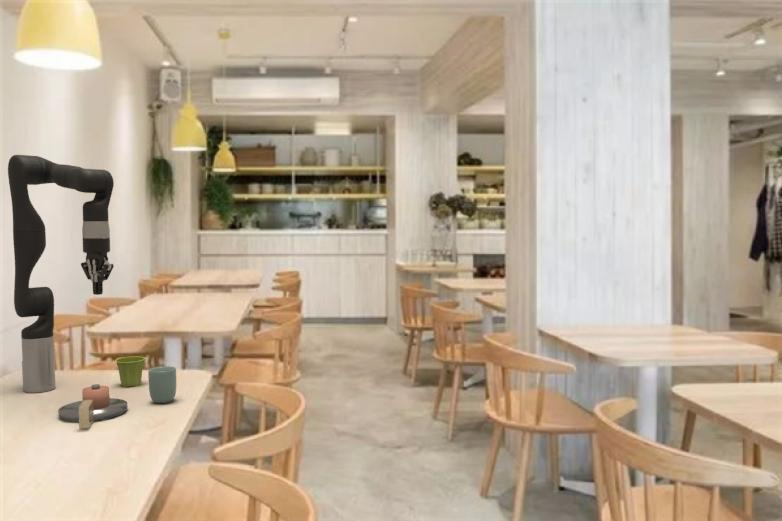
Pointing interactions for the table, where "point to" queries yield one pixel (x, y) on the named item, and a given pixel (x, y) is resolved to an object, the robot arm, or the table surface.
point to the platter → (91, 411)
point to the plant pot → (130, 370)
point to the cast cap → (97, 395)
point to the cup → (162, 384)
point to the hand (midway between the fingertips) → (97, 294)
